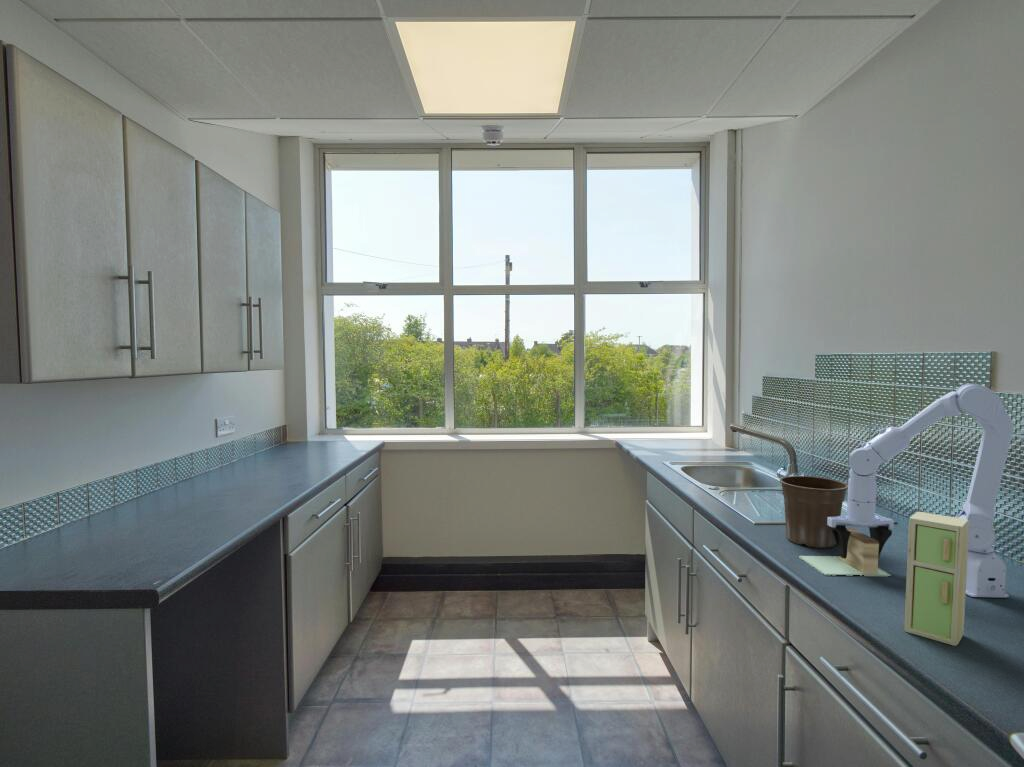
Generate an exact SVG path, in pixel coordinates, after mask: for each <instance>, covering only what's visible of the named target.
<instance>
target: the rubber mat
mask: <svg viewBox="0 0 1024 767" xmlns="http://www.w3.org/2000/svg"><path fill="white" fill-rule="evenodd" d="M798 557H799V559H800V560H802V561H803V560H804V561H803V562H805V563H807V565H809V566H811V567H812V568H813V567H814V568H813V569H815V570H816V571H818V572H819V573H820V574H822V575H823V574H824V575H823V576H829V577H830V576H831V575H832V576H836V575H846V576H845V577H854V576H853V575H860V576H859V577H888V576H892V574H891V573H888V572H886V571H885V570H883V569H881V568H880V567H878V571H877V574H862V573H861V572H859V571H858V570H856V569H854V568H853V567H851V566H850V565H848V564H846V563H845V562H843V561H841V560H840V559H839V555H838V556H835V555H833V556H832V555H798ZM862 575H864V576H862Z"/></svg>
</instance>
